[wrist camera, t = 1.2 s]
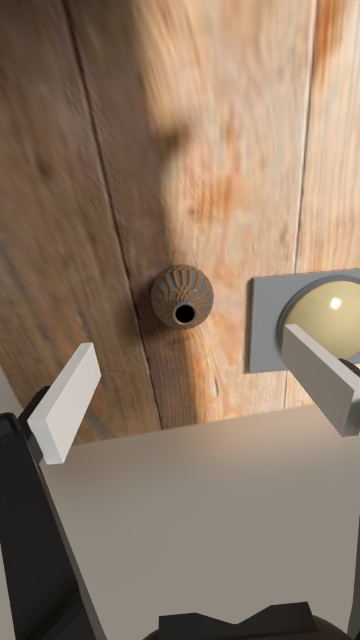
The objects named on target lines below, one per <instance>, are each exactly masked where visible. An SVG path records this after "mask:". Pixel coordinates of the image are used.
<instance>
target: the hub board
mask: <svg viewBox="0 0 360 640" xmlns="http://www.w3.org/2000/svg"><path fill="white" fill-rule="evenodd" d="M290 324H296V325H297V326H299V327H300V328H301V329H302V330H303V331H305V332H306V333H307V334H308V335H309V336H311V337H312V338H313V339H314V340H315V341H316V342H318V343H319V344H320V345H321V346H322V347H324V348H325V349H326V350H327V351H328V352H330V353H331V354H332V355H333V356H334V357H336V358H337V359H339V358H342V359H344V360H347V361H349V362H351V363H353V364H357V363H360V268H355V269H344V270H332V271H321V272H310V273H299V274H288V275H276V276H265V277H254V278H252V296H251V318H250V339H249V360H248V371H249V373H258V372H269V371H280V370H289V369H288V368H287V366H286V365H285V364H284V363H283V361H282V360H281V352H282V343H283V334H284V325H290Z"/></svg>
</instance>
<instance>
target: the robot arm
mask: <svg viewBox="0 0 360 640" xmlns="http://www.w3.org/2000/svg"><path fill="white" fill-rule="evenodd" d="M281 360H282V361H283V363H284V364H285V365H286V366H287V368H288V369H289V370H290V372H291V373H292V374H293V375H294V377H295V378H296V379H297V380H298V382H299V383H300V384H301V385H302V387H303V388H304V389H305V391H306V392H307V393H308V394H309V396H310V397H311V398H312V399H313V401H314V402H315V403H316V404H317V406H318V407H319V408H320V409H321V411H322V412H323V413H324V414H325V416H326V417H327V418H328V419H329V421H330V422H331V423H332V425H333V426H334V427H335V429H336V430H337V431H338V432H339V434H340V435H341V436H342V437H345V436H356V435H358V434H359V431H360V370H359V368H358V367H356V366H355V365H354V364H353V363H351V362H349V361H347V360H344V359H342V358H339V359H337V358H336V357H334V356H333V355H332V354H331V353H330V352H328V351H327V350H326V349H325V348H324V347H322V346H321V345H320V344H319V343H318V342H316V341H315V340H314V339H313V338H312V337H311V336H309V335H308V334H307V333H306V332H305V331H303V330H302V329H301V328H300V327H299V326H297V325H296V324H290V325H284V334H283V343H282V352H281ZM100 377H101V373H100V369H99V366H98V362H97V358H96V354H95V350H94V347H93V343H81V344H80V346H79V347H78V349H77V350H76V352H75V353H74V354H73V356H72V357H71V359H70V360H69V362H68V363H67V364H66V366H65V367H64V369H63V370H62V372H61V373H60V374H59V376H58V377H57V379H56V380H55V382H54V383H53V384H52V386H45V387H44V388H42V389H41V390H40V391H39V392H37V393H36V395H35V396H34V397H33V399H32V401H30V403H29V404H28V405H27V407H26V408H25V409H24V411H23V412H22V413H21V415H20V416H19V417H18V419H17V418H16V416H15V415H14V414H13V413H9V412H8V413H2V414H0V544H1V550H2V556H3V563H4V569H5V575H6V582H7V588H8V594H9V600H10V607H11V613H12V619H13V625H14V632H15V638H16V640H107V638H106V636H105V634H104V631H103V629H102V627H101V624H100V621H99V619H98V616H97V614H96V611H95V608H94V606H93V603H92V601H91V598H90V595H89V593H88V590H87V588H86V585H85V583H84V580H83V577H82V575H81V572H80V569H79V567H78V564H77V562H76V559H75V557H74V554H73V552H72V549H71V546H70V543H69V541H68V538H67V536H66V533H65V531H64V528H63V525H62V523H61V520H60V517H59V515H58V512H57V510H56V507H55V505H54V502H53V500H52V497H51V494H50V492H49V489H48V486H47V484H46V481H45V479H44V476H43V474H42V471H41V469H40V466H39V463H40V461H41V459H42V457H44V459H45V461H46V463H47V465H48V464H59V463H64V461H65V458H66V456H67V453H68V451H69V449H70V447H71V444H72V442H73V440H74V437H75V435H76V433H77V430H78V428H79V426H80V424H81V421H82V419H83V417H84V414H85V412H86V410H87V407H88V405H89V403H90V400H91V398H92V396H93V393H94V391H95V389H96V386H97V384H98V382H99V380H100ZM143 640H360V518H359V532H358V545H357V557H356V569H355V582H354V595H353V604H352V610H351V615H350V619H349V624H348V631H347V634H346V633H344V632H343V631H342V630H340V629H339V628H337V627H336V626H334V625H333V624H331V623H329V622H328V621H326V620H324V619H322V618H319V617H317V616H314V615H312V613H311V610H310V608H309V605H308V602H299V603H289V604H279V605H271V606H269V607H267V608H265V609H264V610H262V611H260V612H258V613H257V614H255V615H253V616H251V617H250V618H248V619H246V620H245V621H242V622H241V623H239V624H231V623H227V622H224V621H221V620H218V619H214V618H211V617H208V616H205V615H201V614H198V613H187V614H177V615H167V616H159V629H158V630H156V631H154V632H152V633H151V634H149V635H148V636H147V637H145V638H144V639H143Z"/></svg>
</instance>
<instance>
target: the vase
mask: <svg viewBox="0 0 360 640" xmlns="http://www.w3.org/2000/svg"><path fill="white" fill-rule="evenodd" d="M213 300H214V294H213V288H212V286H211V283H210V281H209V280H208V278H207V277H206V276H205V274H204V273H203V272H201V271H200V270H199V269H197V268H195V267H193V266H190V265H174V266H171V267H169V268H167V269H165V270H164V271H163V272H162V273H160V275H159V276H158V277H157V279H156V280H155V282H154V284H153V287H152V291H151V303H152V307H153V309H154V312H155V313H156V315H157V316H158V318H159V319H160V320H161V321H162V322H163V323H164V324H166V325H167V326H169V327H172V328H175V329H182V330H184V329H190V328H193V327H196V326H198V325H199V324H201V323H202V322H203V321H204V320H205V319H206V318H207V317H208V315H209V313H210V311H211V309H212V306H213Z"/></svg>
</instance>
